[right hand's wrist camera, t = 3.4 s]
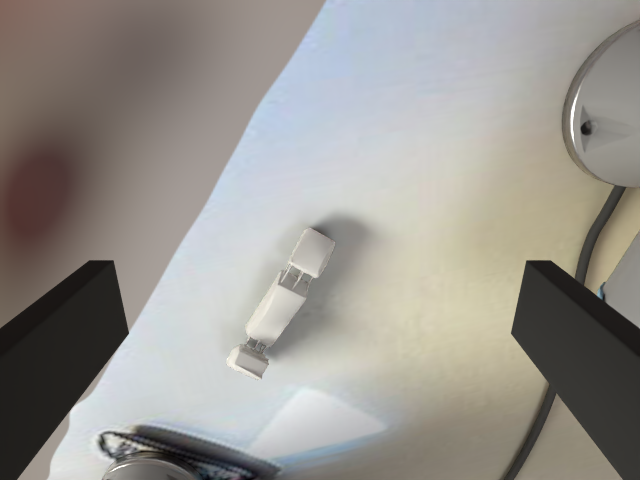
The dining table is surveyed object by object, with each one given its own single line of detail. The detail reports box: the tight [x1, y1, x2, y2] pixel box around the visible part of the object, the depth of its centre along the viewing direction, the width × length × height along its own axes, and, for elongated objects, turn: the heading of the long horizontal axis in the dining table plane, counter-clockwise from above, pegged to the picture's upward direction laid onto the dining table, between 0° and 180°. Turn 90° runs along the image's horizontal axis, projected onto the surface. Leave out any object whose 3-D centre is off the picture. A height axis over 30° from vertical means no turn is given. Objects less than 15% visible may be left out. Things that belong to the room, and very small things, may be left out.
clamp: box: [226, 228, 336, 380], centre depth 43 cm, size 20×4×7 cm, turn 150°
